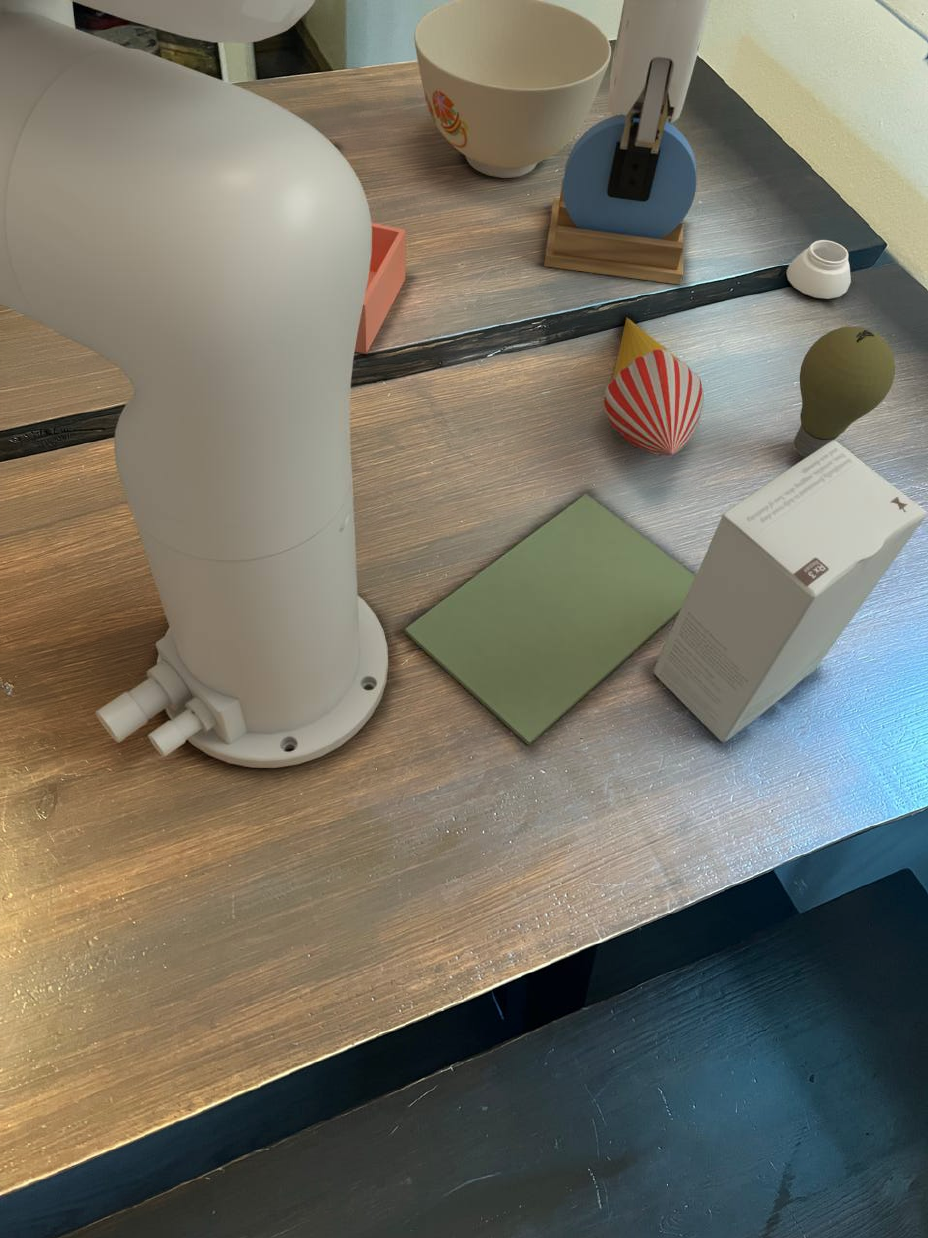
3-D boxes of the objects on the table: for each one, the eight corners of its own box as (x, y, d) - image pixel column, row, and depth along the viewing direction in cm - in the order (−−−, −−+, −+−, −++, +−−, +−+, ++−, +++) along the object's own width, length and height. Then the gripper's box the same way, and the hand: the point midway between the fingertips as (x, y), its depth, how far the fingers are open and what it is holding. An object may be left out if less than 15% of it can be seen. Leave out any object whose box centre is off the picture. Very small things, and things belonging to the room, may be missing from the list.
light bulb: (780, 414, 69) (833, 296, 61) (856, 444, 67) (920, 327, 59) (756, 462, 66) (808, 344, 58) (834, 494, 64) (899, 378, 56)
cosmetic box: (742, 608, 58) (834, 428, 46) (819, 677, 56) (938, 505, 44) (645, 678, 55) (716, 504, 43) (722, 754, 53) (821, 591, 40)
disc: (678, 255, 77) (712, 132, 69) (554, 238, 77) (573, 113, 69) (678, 245, 78) (712, 122, 69) (555, 228, 78) (574, 103, 70)
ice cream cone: (629, 370, 77) (673, 514, 62) (569, 325, 74) (600, 464, 59) (685, 310, 74) (746, 447, 59) (624, 261, 71) (672, 390, 56)
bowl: (394, 119, 89) (394, 0, 80) (557, 106, 92) (574, -10, 84) (437, 218, 80) (442, 96, 72) (615, 200, 83) (640, 81, 75)
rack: (680, 284, 77) (689, 251, 74) (544, 266, 77) (549, 232, 75) (680, 225, 82) (689, 192, 79) (552, 207, 82) (557, 174, 79)
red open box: (405, 278, 75) (407, 156, 67) (366, 353, 70) (363, 231, 62) (190, 230, 77) (167, 106, 69) (136, 299, 71) (104, 174, 63)
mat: (528, 745, 52) (529, 742, 52) (404, 632, 56) (404, 628, 56) (705, 588, 59) (707, 584, 59) (584, 497, 63) (585, 493, 63)
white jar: (826, 261, 80) (774, 269, 79) (840, 228, 78) (786, 236, 76) (858, 297, 77) (804, 306, 76) (873, 265, 75) (818, 274, 74)
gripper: (631, -147, 63) (585, 130, 78) (623, -51, 54) (572, 241, 69) (745, -132, 63) (676, 143, 78) (756, -34, 54) (676, 256, 69)
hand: (628, 187), depth 73 cm, fingers closed on disc, 1 cm apart
